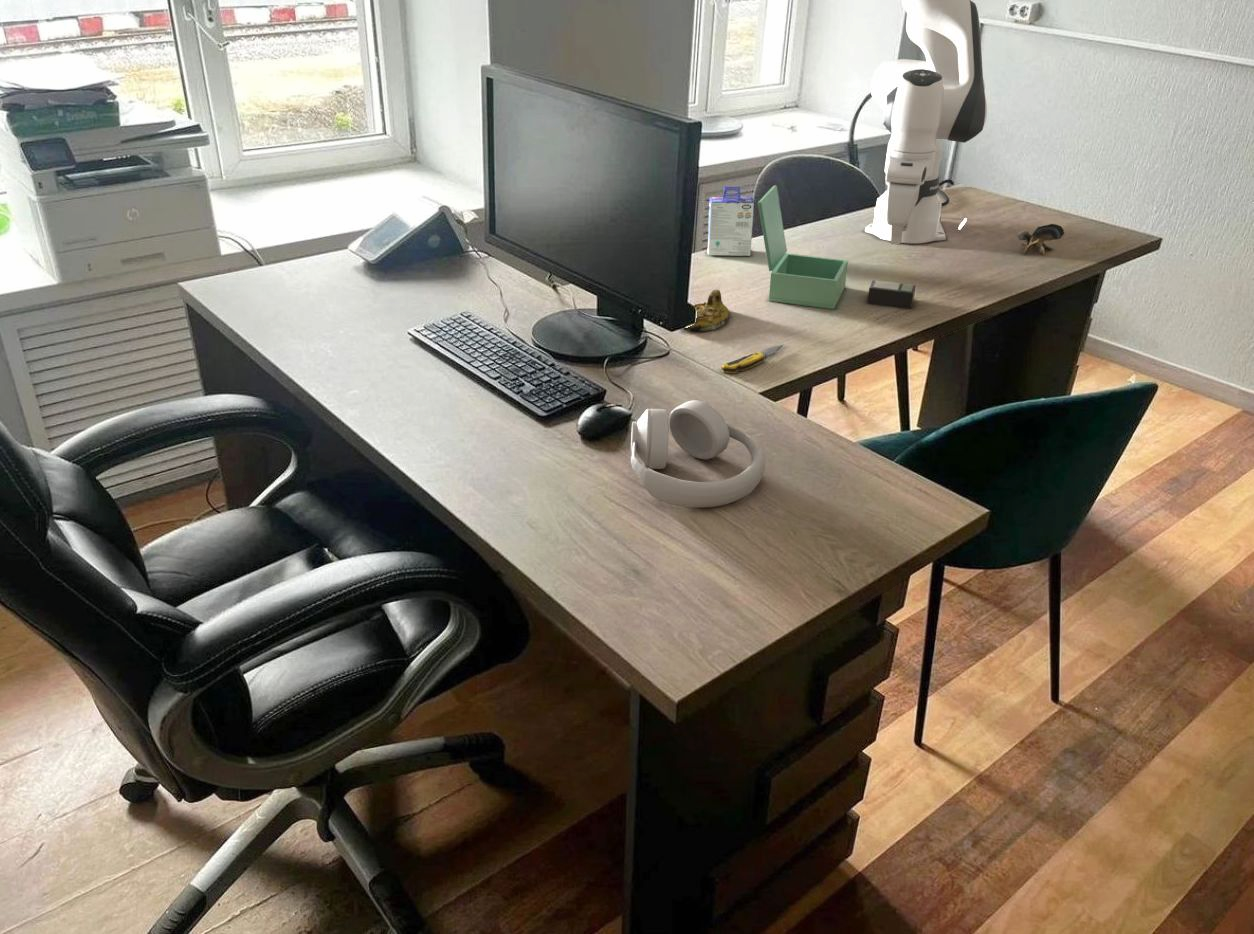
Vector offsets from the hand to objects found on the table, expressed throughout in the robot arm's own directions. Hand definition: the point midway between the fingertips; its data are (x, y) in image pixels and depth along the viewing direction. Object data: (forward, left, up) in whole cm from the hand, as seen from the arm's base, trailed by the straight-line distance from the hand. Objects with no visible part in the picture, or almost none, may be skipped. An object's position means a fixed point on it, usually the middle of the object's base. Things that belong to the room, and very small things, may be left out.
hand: (898, 236), depth 194 cm
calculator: (0, 0, -13) cm, 13 cm away
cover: (+1, -24, 0) cm, 24 cm away
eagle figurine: (-45, +28, -14) cm, 55 cm away
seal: (+23, -32, -14) cm, 42 cm away
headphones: (+80, -17, -14) cm, 83 cm away
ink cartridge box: (-19, -38, -14) cm, 45 cm away
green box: (+1, -16, -13) cm, 21 cm away
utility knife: (+38, -18, -14) cm, 44 cm away
